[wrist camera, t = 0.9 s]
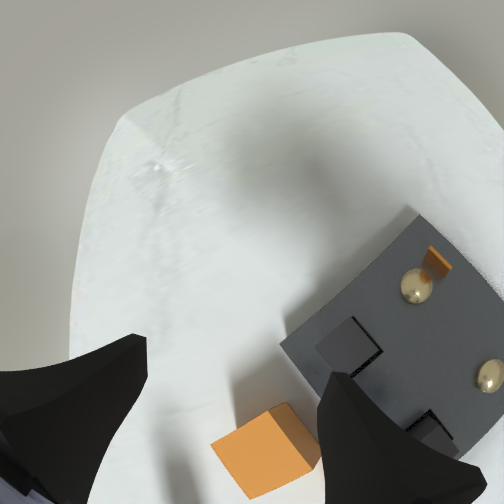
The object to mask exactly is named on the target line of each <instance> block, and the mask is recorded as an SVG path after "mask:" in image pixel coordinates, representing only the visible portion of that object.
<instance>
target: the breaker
mask: <svg viewBox="0 0 504 504" xmlns="http://www.w3.org/2000/svg"><path fill="white" fill-rule="evenodd" d="M407 433H409V434H410V435H411V436H413V437H414V438H416V439H417V440H419V441H420V442H422V443H423V444H425V445H427V446H428V447H430V448H432V449H434V450H436V451H438V452H440V453H441V454H444V455H446V456H448V457H450V458H453V457H454V456H455V455H457V454H458V453H459V452H460V451H459V449H458V448H457V447H456V446H455V444H454V443H453V442H452V440H451V439H450V438H449V436H448V435H447V434H446V432H445V431H444V430H443V429H442V427H441V426H440V425H439V424H438V423H437V422H436V421H435V420H434V419H433V418H431V417H430V416H429V415H428V414H427V415H426V416H425V417H424V418H423V419H422V420H421V421H419V422H418V423H417V424H416V425H415V426H414V427H412V428H411V429H410V430H409V431H407Z"/></svg>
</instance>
